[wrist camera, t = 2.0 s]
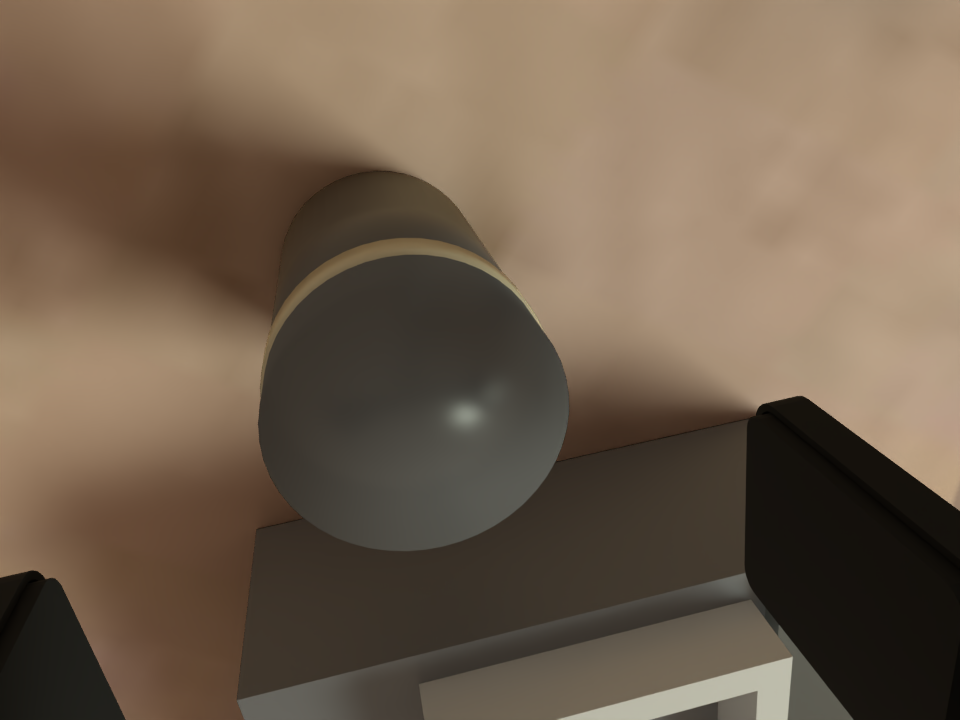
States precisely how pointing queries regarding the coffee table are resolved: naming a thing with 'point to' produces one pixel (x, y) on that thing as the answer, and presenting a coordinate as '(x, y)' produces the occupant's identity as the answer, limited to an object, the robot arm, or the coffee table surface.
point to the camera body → (538, 608)
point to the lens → (403, 372)
